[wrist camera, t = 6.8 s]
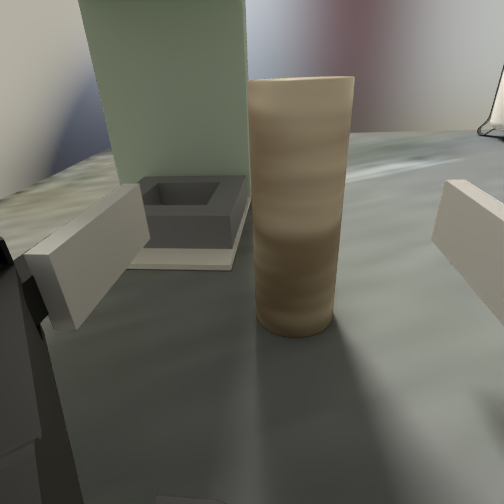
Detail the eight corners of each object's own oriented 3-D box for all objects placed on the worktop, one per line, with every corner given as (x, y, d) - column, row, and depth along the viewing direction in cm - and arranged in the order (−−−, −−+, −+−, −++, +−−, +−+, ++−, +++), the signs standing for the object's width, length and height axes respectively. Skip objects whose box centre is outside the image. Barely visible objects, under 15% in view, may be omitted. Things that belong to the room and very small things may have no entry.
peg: (348, 322, 17) (379, 75, 12) (278, 347, 16) (278, 82, 10) (305, 283, 20) (314, 76, 15) (244, 301, 19) (231, 81, 14)
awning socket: (230, 270, 22) (198, -139, 13) (43, 267, 23) (-101, -106, 14) (252, 194, 35) (243, -36, 26) (131, 195, 36) (85, -24, 28)
